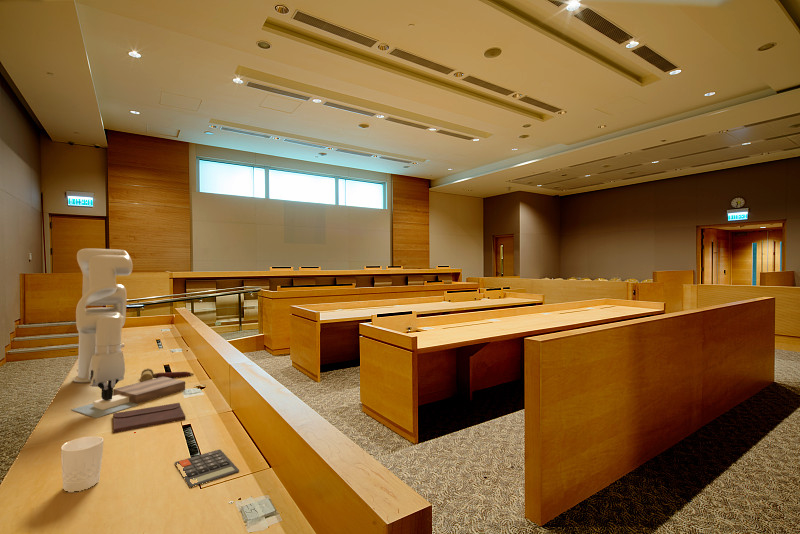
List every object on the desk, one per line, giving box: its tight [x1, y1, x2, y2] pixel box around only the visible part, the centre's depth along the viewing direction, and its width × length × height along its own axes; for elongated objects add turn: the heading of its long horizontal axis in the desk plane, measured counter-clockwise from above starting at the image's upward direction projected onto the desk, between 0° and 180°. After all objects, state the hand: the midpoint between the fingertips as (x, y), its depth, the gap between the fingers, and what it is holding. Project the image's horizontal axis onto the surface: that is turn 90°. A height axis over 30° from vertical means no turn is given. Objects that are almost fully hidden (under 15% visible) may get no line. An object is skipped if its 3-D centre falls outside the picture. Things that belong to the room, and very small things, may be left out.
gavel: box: [139, 368, 195, 383], centre depth 179 cm, size 21×5×10 cm
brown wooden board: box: [113, 377, 186, 405], centre depth 158 cm, size 14×20×4 cm
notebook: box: [112, 402, 186, 434], centre depth 133 cm, size 15×20×2 cm
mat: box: [71, 402, 139, 419], centre depth 142 cm, size 15×14×1 cm
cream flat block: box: [92, 394, 129, 410], centre depth 144 cm, size 6×9×2 cm, turn 156°
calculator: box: [174, 449, 240, 488], centre depth 103 cm, size 12×1×15 cm
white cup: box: [60, 435, 104, 493], centre depth 93 cm, size 8×8×10 cm
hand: (107, 399), depth 143 cm, fingers closed
